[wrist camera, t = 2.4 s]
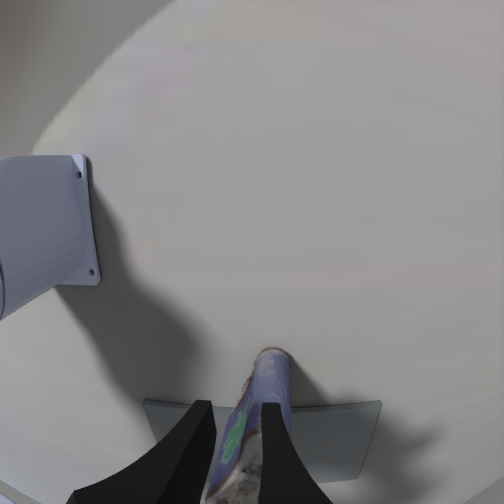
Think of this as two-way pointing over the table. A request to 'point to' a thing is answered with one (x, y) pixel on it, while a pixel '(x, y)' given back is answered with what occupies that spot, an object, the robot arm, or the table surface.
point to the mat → (298, 435)
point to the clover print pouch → (250, 431)
